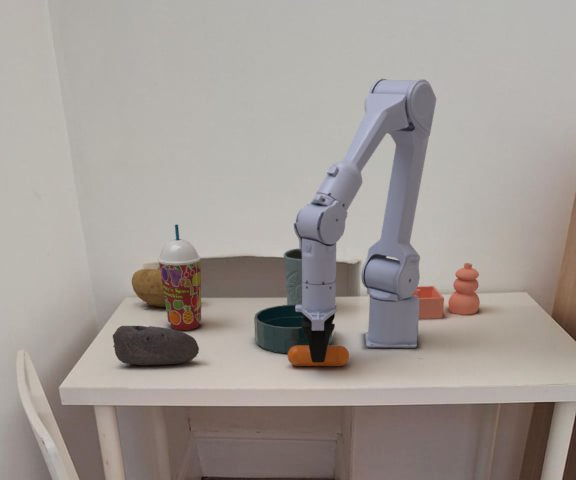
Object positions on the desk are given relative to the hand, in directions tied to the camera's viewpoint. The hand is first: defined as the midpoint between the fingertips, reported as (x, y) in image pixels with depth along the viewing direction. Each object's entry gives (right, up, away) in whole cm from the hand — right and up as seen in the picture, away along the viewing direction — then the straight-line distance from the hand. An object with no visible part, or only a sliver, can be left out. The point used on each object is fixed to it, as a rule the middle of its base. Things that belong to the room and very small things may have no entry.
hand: (318, 357), depth 134 cm
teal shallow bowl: (-4, +6, +13) cm, 14 cm away
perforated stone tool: (-29, -1, +3) cm, 29 cm away
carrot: (0, -1, +1) cm, 1 cm away
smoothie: (-27, +11, +21) cm, 36 cm away
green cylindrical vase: (-1, +17, +30) cm, 35 cm away
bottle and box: (+27, +16, +28) cm, 42 cm away
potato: (-33, +19, +35) cm, 51 cm away
